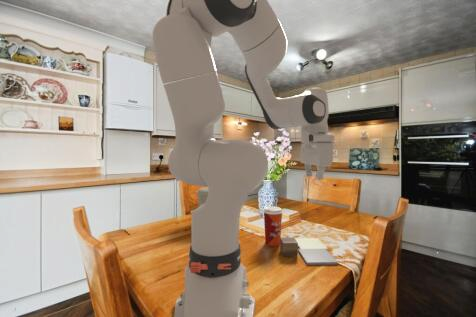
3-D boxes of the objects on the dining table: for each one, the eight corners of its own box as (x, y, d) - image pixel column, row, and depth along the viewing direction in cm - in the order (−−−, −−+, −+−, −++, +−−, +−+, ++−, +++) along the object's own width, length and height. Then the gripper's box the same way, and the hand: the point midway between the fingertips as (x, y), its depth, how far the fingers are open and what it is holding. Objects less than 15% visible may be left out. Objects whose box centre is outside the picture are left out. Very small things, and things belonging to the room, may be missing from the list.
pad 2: (338, 264, 73) (338, 262, 73) (307, 264, 72) (307, 262, 72) (325, 250, 83) (325, 248, 83) (298, 251, 82) (298, 248, 82)
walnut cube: (297, 257, 78) (297, 242, 78) (283, 257, 78) (283, 243, 77) (293, 250, 83) (293, 237, 83) (280, 251, 83) (280, 237, 82)
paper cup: (275, 249, 84) (275, 212, 83) (259, 243, 89) (259, 208, 88) (286, 243, 89) (286, 208, 89) (270, 238, 95) (270, 204, 94)
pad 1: (327, 250, 83) (327, 248, 83) (300, 251, 82) (300, 248, 82) (317, 239, 93) (317, 238, 93) (293, 240, 92) (293, 238, 92)
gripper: (296, 139, 87) (295, 174, 88) (316, 135, 67) (316, 182, 67) (312, 139, 88) (311, 174, 88) (337, 135, 67) (336, 182, 68)
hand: (313, 178), depth 78 cm, fingers open, 8 cm apart
